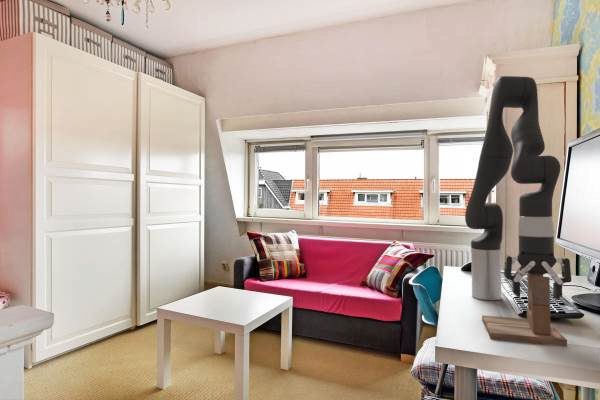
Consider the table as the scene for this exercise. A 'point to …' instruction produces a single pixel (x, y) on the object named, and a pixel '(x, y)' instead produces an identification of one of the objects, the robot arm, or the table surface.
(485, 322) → the board
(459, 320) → the table surface
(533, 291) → the tan cylinder-on-bar part
